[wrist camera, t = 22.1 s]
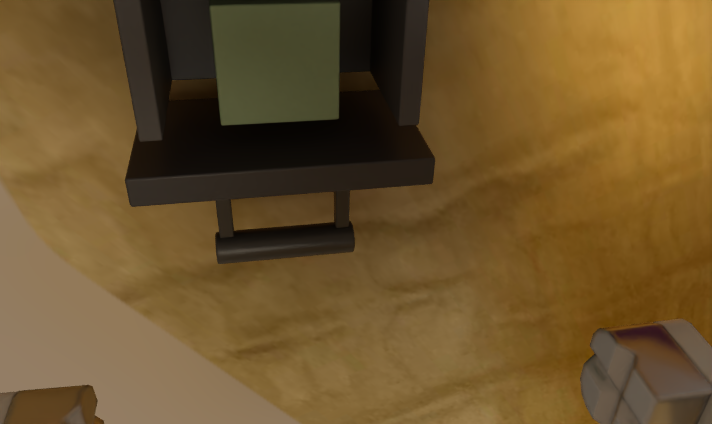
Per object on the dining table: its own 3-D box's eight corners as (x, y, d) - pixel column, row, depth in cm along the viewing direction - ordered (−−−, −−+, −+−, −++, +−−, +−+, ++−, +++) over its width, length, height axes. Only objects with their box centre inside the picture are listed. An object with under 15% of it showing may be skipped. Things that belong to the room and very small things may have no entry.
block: (323, -30, 25) (340, 2, 22) (323, 76, 28) (339, 120, 24) (209, -28, 25) (208, 5, 21) (220, 81, 27) (220, 126, 24)
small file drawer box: (389, 195, 33) (423, 278, 28) (162, 213, 31) (150, 305, 26) (416, -266, 23) (481, -282, 17) (76, -280, 21) (24, -303, 15)
